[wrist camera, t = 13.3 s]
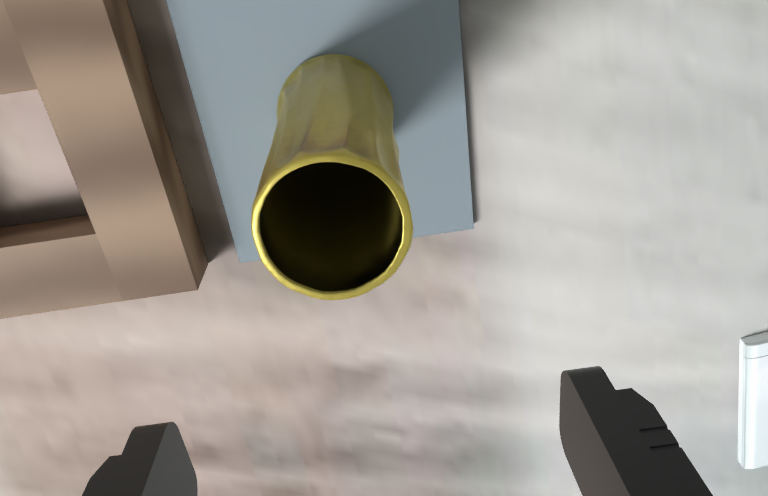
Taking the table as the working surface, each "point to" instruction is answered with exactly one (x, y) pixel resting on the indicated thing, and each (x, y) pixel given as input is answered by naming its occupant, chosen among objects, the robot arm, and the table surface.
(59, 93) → the pocket block
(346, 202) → the vase
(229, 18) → the mat
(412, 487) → the table surface
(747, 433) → the hard drive
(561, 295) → the table surface
